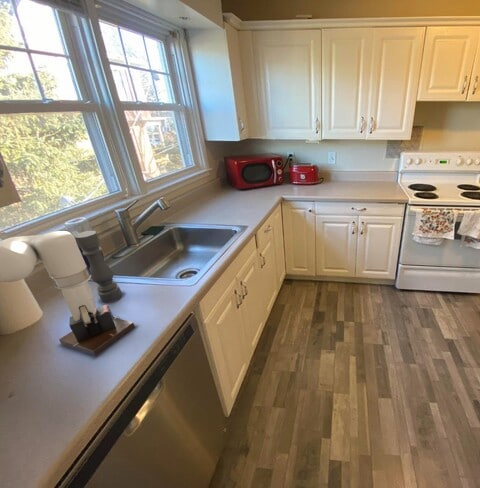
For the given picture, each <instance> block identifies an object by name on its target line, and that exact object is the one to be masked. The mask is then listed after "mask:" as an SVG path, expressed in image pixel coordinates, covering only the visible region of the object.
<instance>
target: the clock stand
mask: <svg viewBox="0 0 480 488" xmlns="http://www.w3.org/2000/svg"><path fill="white" fill-rule="evenodd" d="M113 317H114V319H115V324H116V328H114V329H111V330H109V331H106V332H103V333H101V334H98V335H95V336H93V337H90V338H87V339H85V340H82V341H79V342H78V341H77V339H76V337H75V335H74V334H73V332H72V331H70V332H68V333H66V334H65V335H64V336H62V337H61V338H59V339H58V341H59V343H60V344H61V345H62V346H64V347H68V348H69V349H70V348H71V349H73V350H76V351H79V352H82V353H85V354H88V355H90V356H93V357H98V356H99V355H100V354H101V353H103V352H105V351H106V350H107V349H108V348H110V347H111V346H112V345H113V344H115V343H116V342H118V341H119V340H120V339H122V338H123V337H125V335H127V334H129V333H130V332H131V331H132V330H134V329H135V328H136V326H135V324H134V322H133V321H129V320H126V319H122V318H119V317H120V316H119V315H117V316H116V317H115V316H113Z"/></svg>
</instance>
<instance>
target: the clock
mask: <svg viewBox="0 0 480 488" xmlns="http://www.w3.org/2000/svg"><path fill="white" fill-rule="evenodd" d="M90 313H91V312H89V314H90ZM95 316H96V319H97V321H99V322H100V324H101V326H102V329H103V332H106V331H109V330H111V329H114V328H116V324H115V319H114V317H115V316H114V314H113V312H112V310H111V308H110V306H109V304H108V303H105V304H104V305H102V306H100V307H99V306H98V307H96V314H95ZM90 319H93V317H92V316H91V317H90ZM68 323H69V328H70V329H71V332H73V334H74V335H75V337H76V339H77V341H78V342H79V341H82V340H85V339H87V338H90V336H89V334H88V332H87V330H86V328H85V325H84V323H83V320H82V318H81V316H80V320H78V321H75V320H74V319H73V317H72V316H69V322H68ZM92 337H93V336H92Z"/></svg>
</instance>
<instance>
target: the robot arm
mask: <svg viewBox="0 0 480 488" xmlns="http://www.w3.org/2000/svg"><path fill="white" fill-rule="evenodd" d="M38 263H42V265H43V266H44V268H45V270H46V272H47V274H48V275H49V278H50V279H51V281H52V283H53V285H54V288H55V289H57V290H61V293H62V295H63V298H64V301H65V303H66V305H67V308H68V310H69V312H70V314H71V317H73V319H74V320H75V321H78V320H80V316H81V318H82V320H83V323H84V325H85V328H86V330H87V332H88V334H89V336H90V337H92V336H95V335H98V334H101V333H103V329H102V326H101V324H100V322H99V321H97V319H96V316H95V314H96V308H97V305H96V299H95V296H94V293H93V292H94V291H93V290H92V288H91V285H90V283H89V281H90V280H91V279H92V278H91V272H90V270H89V269H88V265H87V263H86V262H85V259H84V257H83V253H82V252H81V250H80V247H79V246H78V244H77V242H76V240H75V238H74V234H73V233H71V232H69V231H67V230H56V231H55V230H54V231H50V232H46V233H43V234H38V235H37V234H35V235H22V236H21V235H20V236H12V237H11V236H10V237H8V238H5V239H3V240H0V283H1V282H2V283H13V282H14V283H15V282H18V281H21V280H23V279H25V278H27V277H29V276H30V275H31V274H32V272H33V271H34V269H35V267H36V264H38ZM89 312H91V313H90V314H89ZM91 316H92V317H93V319H90V317H91Z"/></svg>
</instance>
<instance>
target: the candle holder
mask: <svg viewBox="0 0 480 488" xmlns="http://www.w3.org/2000/svg"><path fill="white" fill-rule="evenodd" d="M73 237H74V238H75V241H76V243H77V245H78V247H79V249H81V250H83V251H82V256H85V257H86V258H87V261H88V263H89V269H90V270H89V271H90V275H91V278H90V279H91V280H92V281H93V282H94V283H95V284H97V294H98V297H99V299H100V301H101V303H104V304H109V303H112V302H115V301H118V300H119V299H120V298H122V296H123V293H122V290H121V287H120V285H118V283H117V282H116V281H114V271H113V270H112V269H111V267H110V266H109V264H108V263H107V262H106V261H105V259H104V257H103V254H102V252H103V248H102V247H101V246H100V241H101V240H100V238H99V235H98V233H97V231H96V230H86V231H81V232H78V233H76V234H74V235H73Z"/></svg>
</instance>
